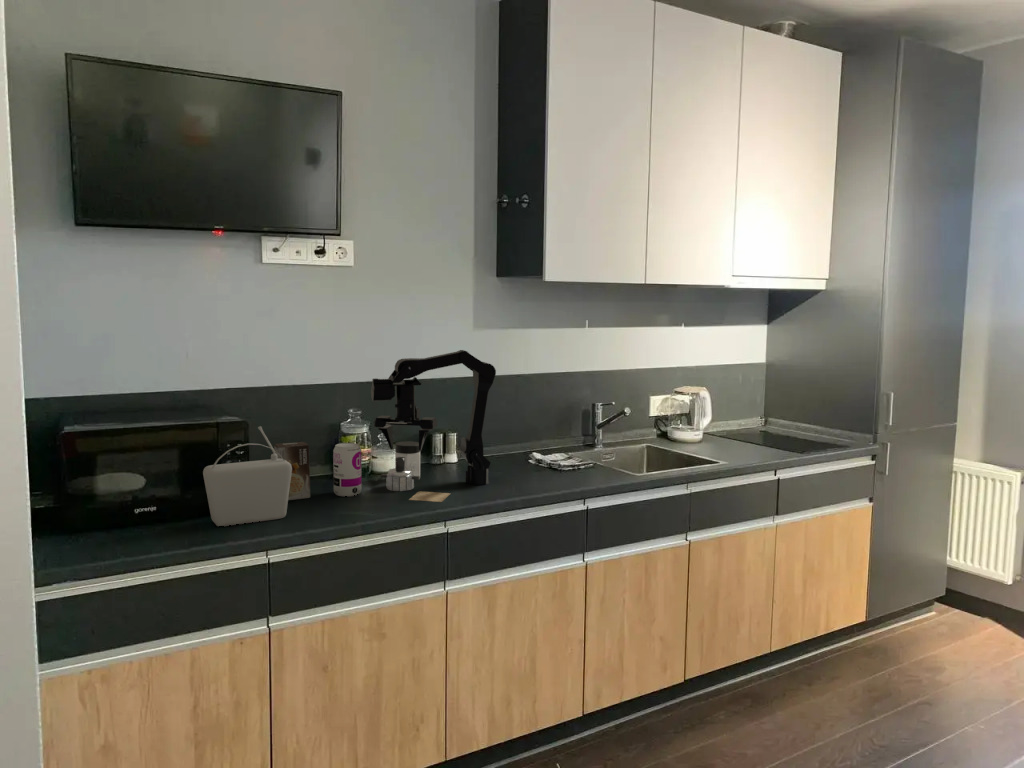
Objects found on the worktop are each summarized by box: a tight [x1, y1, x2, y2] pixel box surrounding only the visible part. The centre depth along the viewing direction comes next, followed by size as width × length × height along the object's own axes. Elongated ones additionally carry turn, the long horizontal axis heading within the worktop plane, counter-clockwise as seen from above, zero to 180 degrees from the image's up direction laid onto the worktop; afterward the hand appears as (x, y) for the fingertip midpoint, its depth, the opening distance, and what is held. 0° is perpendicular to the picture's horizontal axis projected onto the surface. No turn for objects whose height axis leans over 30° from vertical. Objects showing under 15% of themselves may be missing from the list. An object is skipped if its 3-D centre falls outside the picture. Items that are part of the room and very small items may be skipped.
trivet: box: [408, 491, 451, 503], centre depth 235 cm, size 10×10×1 cm
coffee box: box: [273, 441, 311, 501], centre depth 234 cm, size 9×6×16 cm
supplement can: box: [332, 442, 362, 497], centre depth 239 cm, size 8×8×15 cm
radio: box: [202, 425, 292, 527], centre depth 210 cm, size 22×8×25 cm, turn 123°
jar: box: [394, 440, 421, 477], centre depth 259 cm, size 9×8×12 cm
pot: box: [380, 473, 421, 492], centre depth 245 cm, size 12×8×5 cm
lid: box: [387, 457, 412, 477], centre depth 244 cm, size 7×7×5 cm
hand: (406, 449), depth 244 cm, fingers open, 9 cm apart
